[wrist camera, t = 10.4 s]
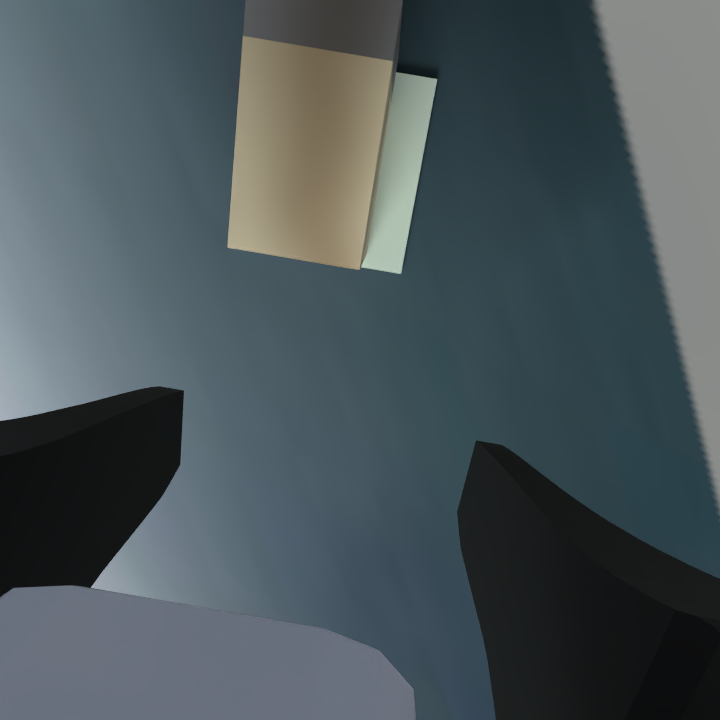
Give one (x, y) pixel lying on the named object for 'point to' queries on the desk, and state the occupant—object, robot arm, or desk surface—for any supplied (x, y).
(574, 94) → the desk surface
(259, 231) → the block
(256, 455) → the desk surface
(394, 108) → the pad
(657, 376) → the desk surface
